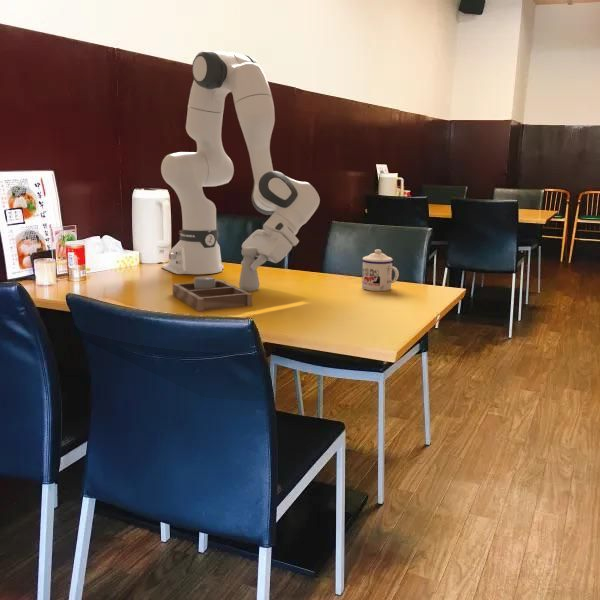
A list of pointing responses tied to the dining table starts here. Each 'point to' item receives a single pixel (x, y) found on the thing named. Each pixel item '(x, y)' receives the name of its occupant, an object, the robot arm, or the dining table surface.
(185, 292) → the brown wooden divided tray
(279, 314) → the dining table surface
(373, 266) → the teacup with lid
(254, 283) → the salt shaker
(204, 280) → the gray block
